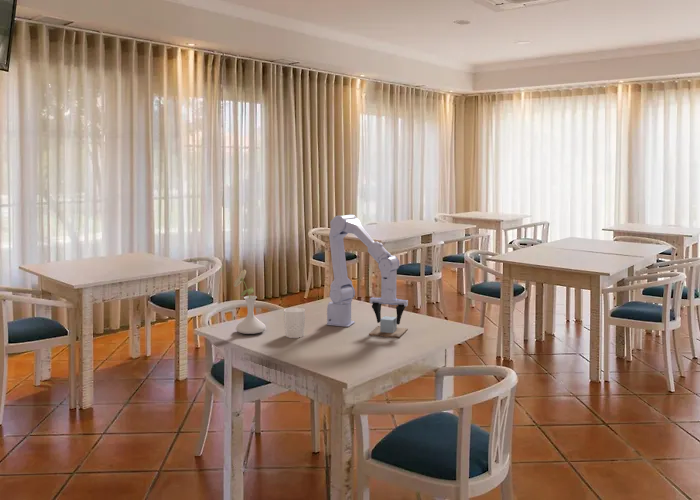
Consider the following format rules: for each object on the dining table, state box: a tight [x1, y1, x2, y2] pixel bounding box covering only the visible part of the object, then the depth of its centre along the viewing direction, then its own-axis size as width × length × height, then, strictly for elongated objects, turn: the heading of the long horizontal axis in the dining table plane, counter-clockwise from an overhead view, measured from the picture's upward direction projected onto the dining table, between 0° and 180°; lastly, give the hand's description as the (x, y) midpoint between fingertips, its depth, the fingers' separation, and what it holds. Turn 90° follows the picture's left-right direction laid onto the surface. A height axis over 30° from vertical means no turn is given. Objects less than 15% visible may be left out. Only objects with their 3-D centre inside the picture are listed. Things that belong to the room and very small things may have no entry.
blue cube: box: [379, 315, 398, 333], centre depth 242 cm, size 5×5×5 cm
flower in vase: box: [233, 269, 267, 335], centre depth 240 cm, size 13×11×25 cm
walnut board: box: [368, 325, 409, 339], centre depth 242 cm, size 12×12×1 cm
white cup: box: [283, 307, 306, 339], centre depth 237 cm, size 8×8×10 cm
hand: (388, 323), depth 241 cm, fingers open, 7 cm apart
